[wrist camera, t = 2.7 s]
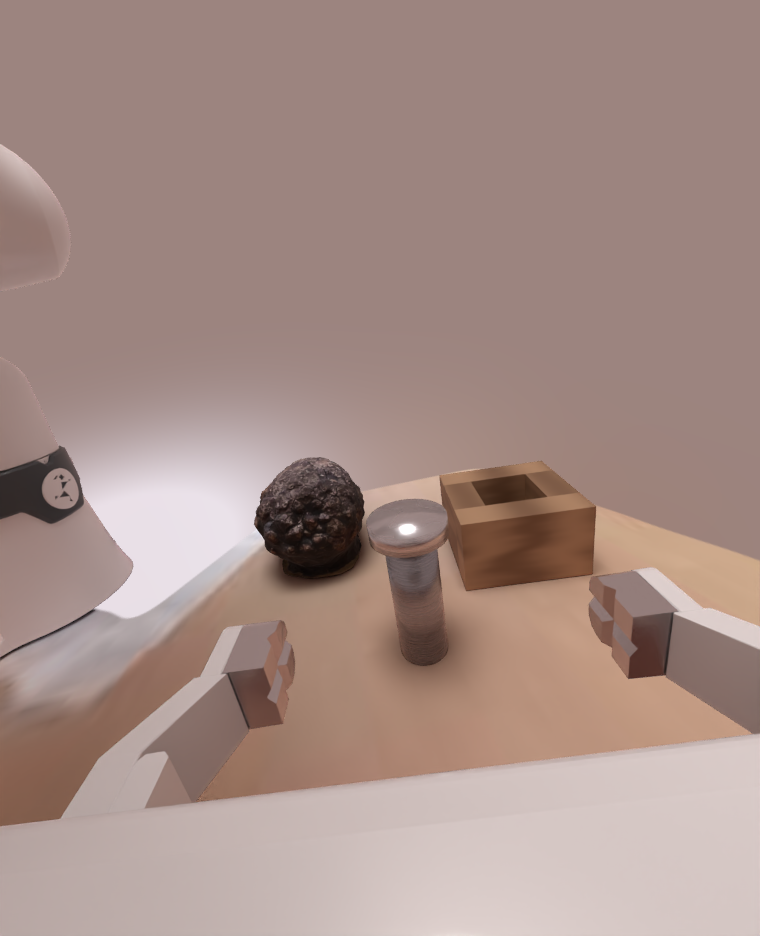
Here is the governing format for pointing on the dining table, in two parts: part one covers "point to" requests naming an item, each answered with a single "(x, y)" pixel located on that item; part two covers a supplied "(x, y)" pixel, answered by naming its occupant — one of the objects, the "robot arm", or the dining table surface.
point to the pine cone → (312, 518)
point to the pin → (414, 573)
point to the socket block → (517, 525)
